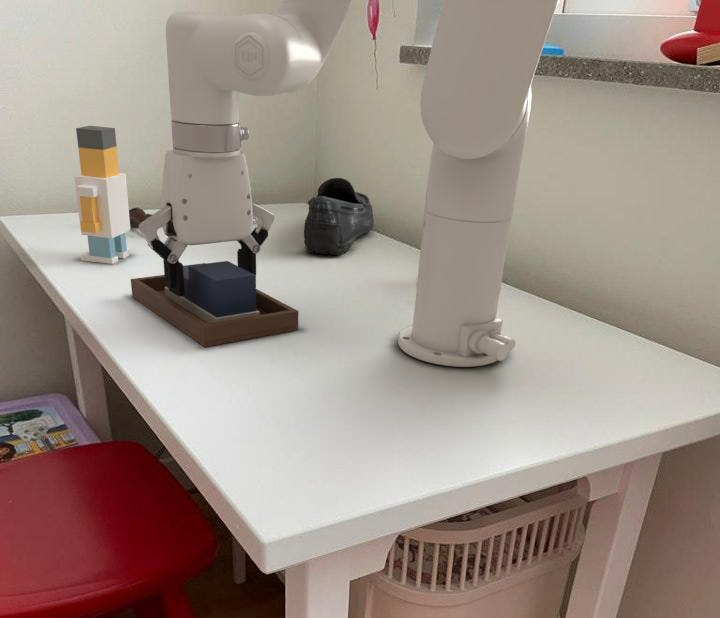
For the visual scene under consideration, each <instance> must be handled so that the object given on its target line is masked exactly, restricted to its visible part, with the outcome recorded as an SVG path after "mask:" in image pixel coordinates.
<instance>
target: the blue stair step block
mask: <svg viewBox="0 0 720 618" xmlns="http://www.w3.org/2000/svg"><path fill="white" fill-rule="evenodd" d="M183 275H184V292H185V294H184V295H183V296H177V295H175V294H174V293H172V292H170V291H169V289H168V288H167V287H165V296H166V297H168V298H169V299H171V300H172V301H174V302H175V303H177V304H179V305H180V306H182V307H183V308H185V309H186V310H188V311H189V312H191V313H193V314H194V315H196V316H197V317H199V318H200V319H202V320H203V321H205V322H207V323H208V324H210V323H216V322H222V321H228V320H234V319H240V318H246V317H252V316H258V315H260V313H259V311H257V310H256V289H257V274H256V275H254V274H252V273H250V272H248V271H246V270H244V269H242V268H240V267H238V265H237V264H234V263H232V262H230V261H229V260H224V261H215V262H208V263H206V262H203V263H196V264H187V265H186V264H185V265H183Z"/></svg>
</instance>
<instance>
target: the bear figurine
mask: <svg viewBox="0 0 720 618" xmlns="http://www.w3.org/2000/svg"><path fill="white" fill-rule="evenodd" d="M153 214H154V213H153ZM153 214H150V213H146V212H145V211H144V209H142V208H140V207H132V208H131V209H129V218H130V226H134V227H137V228H138V229H139V224H140V223H141V222H143V221H144V220H146V219H147V218H149V217H150V216H152V215H153Z"/></svg>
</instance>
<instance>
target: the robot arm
mask: <svg viewBox="0 0 720 618" xmlns="http://www.w3.org/2000/svg"><path fill="white" fill-rule="evenodd" d="M353 2H354V0H279V2H278V3H277V6H276V8H275V10H274V12H273V13H248V14H247V13H246V14H239V15H230V16H228V15H226V14H222V13H213V12H202V11H201V12H200V11H176V12H173V13H171V14H170V15H169V16H168V17H167V19H166V23H165V40H166V41H165V42H166V57H167V59H166V60H167V73H168V89H169V90H168V91H169V105H170V106H169V107H170V119H171V120H170V122H171V123H170V124H171V137H172V138H171V140H172V150H166V151H165V155H164V156H165V157H164V162H163V170H162V171H163V172H162V184H161V208H160V209H159V210H157V211H156V212H155V213H153V215H152V216H150V217H149V218H147V219H146V220H144V221H143V222H141V223H140V224H139V228H138V230H139V232H140V233H141V235H142V237H143V238H144V240H145V241H146V243H147V245H148V247H149V248H150V249H151V250H152V251H153V252H155V253H156V254H157V255H158V256H159V258H161V259H163V273H164V274H163V275H165V284H166V286H167V288H168V289H169V291H170V292H172V293H174V294H175V295H177V296H183V295H184V294H185V292H184V275H183V266H184V265H183V263H182V262H180V260H179V259H180V258H181V256H182V255H183V253H184V252H185V250H186V249H187V247H188V246H201V245H210V244H219V243H228V242H237V243H238V244H239V246H240V248H238V249H237V251H236V255H237V256H236V258H237V259H236V260H237V266H238V267H240V268H242V269H244V270H246V271H248V272H250V273H252V274H254V275H256V276H257V254H259V253H260V251H261V247H262V245H263V244H264V242H265V241H266V240H267V238H268V237H269V231H270V230H271V227H272V225H273V223H274V220H275V215H274V214H273V213H272V212H271V211H268V210H267V209H265V208H263V207H260V206H259V205H257V204H255V203H253V199H252V198H253V197H252V187H251V180H250V174H249V167H248V163H247V158H246V155H245V152H244V151H241V147H242V141H247V140H248V139H249V138H250V132H249V129H248V127H242V124H241V122H240V93H242V94H246V95H250V96H254V97H271V96H272V97H273V96H279V95H281V94H287V93H293V92H298V91H300V90H302V89H304V88H305V87H307V86H308V85H310V84H311V82H312V81H313V80H314V79H315V78H316V76H317V75H318V74H319V72H320V71H321V69H322V67H323V65H325V62H326V61H327V58H328V56H329V54H330V52H331V50H332V48H333V46H334V44H335V42H336V40H337V38H338V36H339V34H340V32H341V30H342V28H343V26H344V24H345V21H346V19H347V17H348V14H349V12H350V9H351V7H352V4H353ZM560 2H561V0H442V5H441V9H440V13H439V17H438V21H437V23H436V28H435V32H434V37H433V39H432V44H431V49H430V53H429V56H428V60H427V65H426V68H425V72H424V76H423V81H422V85H421V92H420V103H419V104H420V105H419V108H420V116H421V121H422V124H423V127H424V129H425V132H426V134H427V136H428V138H430V140H431V141H432V143H433V144H432V149H431V155H430V162H429V167H428V176H427V185H426V193H425V202H424V211H423V221H422V230H421V240H420V249H419V252H420V253H419V259H418V269H417V271H418V272H417V280H416V282H417V283H416V291H415V301H414V311H413V321H412V324H411V325H408V326H406V327H404V328H402V329H401V330H400V331H399V333H398V339H397V342H398V346H399V348H400V349H401V350H402V351H403V352H404V353H405V354H407V355H409V356H410V357H412V358H415V359H416V360H420V361H423V362H426V363H430V364H434V365H439V366H444V367H445V366H446V367H455V368H471V367H473V368H474V367H480V366H481V367H482V366H487V365H490V364H491V365H492V364H494V363H495V362H497V361H498V362H501V361H505V359H506V358H507V357H508V356H509V352H511V351H513V349H514V348H515V346H516V340H515V339H513V338H512V337H509V336H507V335H502V327H503V320H502V319H501V318H498V317H497V315H498V307H499V301H500V293H501V287H502V281H503V275H504V268H505V263H506V256H507V249H508V243H509V236H510V230H511V224H512V223H511V222H512V218H513V213H514V207H515V201H516V193H517V188H518V182H519V176H520V170H521V164H522V159H523V153H524V147H525V143H526V142H525V141H526V138H527V132H528V127H529V121H530V115H531V107H532V83H533V80H534V77H535V74H536V71H537V67H538V65H539V63H540V62H539V61H540V59H541V56H542V52H543V49H544V47H545V43H546V40H547V37H548V33H549V31H550V27H551V24H552V21H553V18H554V15H555V12H556V9H557V6H558V5H559V3H560ZM254 217H256V218H257V223H256V227H255V228H254V227H253V224H254V223H253V218H254ZM160 228H162V230H163V231H162V232H163V234H164V235H165V236H167V238H166V240H165V241H164V242H163V241H161V239H160V237H159V235H158V230H159V229H160ZM253 228H254V229H253Z"/></svg>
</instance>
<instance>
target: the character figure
mask: <svg viewBox="0 0 720 618" xmlns="http://www.w3.org/2000/svg"><path fill="white" fill-rule="evenodd" d="M75 131H76V140H77V149H78V157H79V166H80V174H77V175H74V183H75V193H76V200H77V209H78V219H79V225H80V226H79V227H80V234H81V235H82V236H87V244H88V251H86V252H84V253H80V255H79V256H80V260H81V261H85V262H92V263H100V264H109V265H113V264H115V263H118V262H119V259H126V258H127V257H129V256H130V250H129V249H128V248H127V238H126V237H127V236H126V233H128V232H129V231H130V232H131V225H130V218H129V210H130V208H129V207H130V206H129V198H128V195H129V194H128V185H127V174H126V173H125V172H120V167H119V156H118V147H117V146H118V145H117V135H116V127H109V126H107V127H106V126H100V125H99V126H98V125H87V126H80V127H76V128H75Z"/></svg>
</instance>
